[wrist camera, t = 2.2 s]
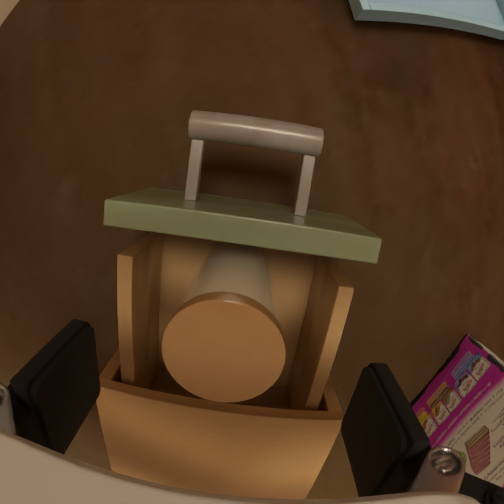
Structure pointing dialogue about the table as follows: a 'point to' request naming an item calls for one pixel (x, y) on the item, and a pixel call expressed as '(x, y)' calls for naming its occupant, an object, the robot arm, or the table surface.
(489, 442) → the candy bar box
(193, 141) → the drawer
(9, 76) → the table surface
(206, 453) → the cabinet
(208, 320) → the spice pot
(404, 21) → the tray
